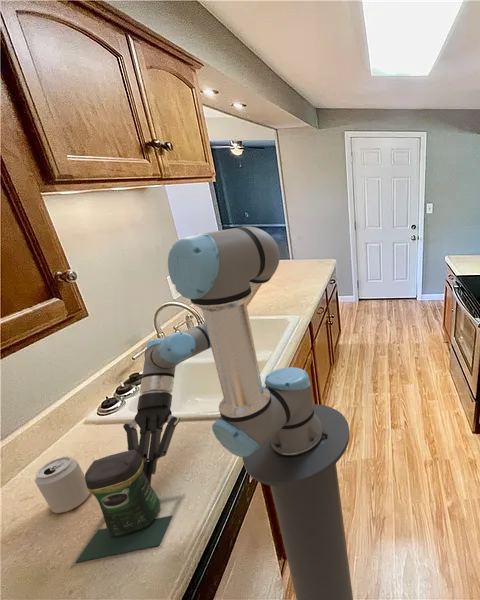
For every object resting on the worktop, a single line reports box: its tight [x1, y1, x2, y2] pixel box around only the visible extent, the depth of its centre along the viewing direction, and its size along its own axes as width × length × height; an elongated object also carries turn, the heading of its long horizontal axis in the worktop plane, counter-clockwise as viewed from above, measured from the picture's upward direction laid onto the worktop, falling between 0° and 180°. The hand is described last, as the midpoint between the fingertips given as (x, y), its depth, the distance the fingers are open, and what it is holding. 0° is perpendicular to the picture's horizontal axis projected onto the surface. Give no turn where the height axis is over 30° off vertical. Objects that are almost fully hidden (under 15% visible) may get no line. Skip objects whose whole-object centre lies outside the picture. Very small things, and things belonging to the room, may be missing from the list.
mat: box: [75, 514, 174, 564], centre depth 77 cm, size 16×12×1 cm
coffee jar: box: [84, 450, 161, 536], centre depth 75 cm, size 10×8×19 cm
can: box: [34, 455, 91, 514], centre depth 81 cm, size 8×8×12 cm
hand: (143, 490), depth 82 cm, fingers closed
